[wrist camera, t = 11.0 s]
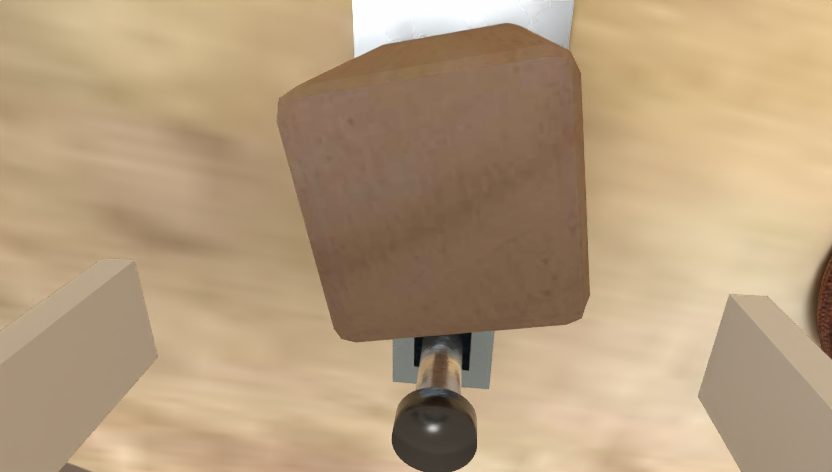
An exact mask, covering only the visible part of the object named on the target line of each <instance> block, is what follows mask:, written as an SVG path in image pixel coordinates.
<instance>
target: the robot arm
mask: <svg viewBox="0 0 832 472" xmlns="http://www.w3.org/2000/svg"><path fill="white" fill-rule="evenodd" d="M157 358H158V355H157V351H156V347H155V343H154V339H153V334H152V330H151V326H150V322H149V318H148V314H147V309H146V305H145V301H144V297H143V293H142V289H141V285H140V280H139V276H138V272H137V268H136V264H135V260H126V259H109V258H103V259H101V260H100V261H98V262H97V263H95V264H94V265H93V266H91V267H90V268H88V269H87V270H86V271H84V272H83V273H81V274H80V275H79V276H77V277H76V278H74V279H73V280H71V281H70V282H69V283H67V284H66V285H64V286H63V287H62V288H60V289H59V290H57V291H56V292H54V293H53V294H52V295H50V296H49V297H47V298H46V299H45V300H43V301H42V302H40V303H39V304H37V305H36V306H35V307H33V308H32V309H30V310H29V311H28V312H26V313H25V314H23V315H22V316H20V317H19V318H18V319H16V320H15V321H13V322H12V323H11V324H9V325H8V326H6V327H5V328H3V329H2V330H1V331H0V472H58V471H59V470H60V469H61V468H62V467H63V466H64V464H65V463H66V462H67V461H68V460H69V459H70V458H71V456H72V455H73V454H74V453H75V452H76V451H77V450H78V448H79V447H80V446H81V445H82V444H83V443H84V442H85V440H86V439H87V438H88V437H89V436H90V435H91V433H92V432H93V431H94V430H95V429H96V428H97V427H98V425H99V424H100V423H101V422H102V421H103V420H104V419H105V417H106V416H107V415H108V414H109V413H110V412H111V410H112V409H113V408H114V407H115V406H116V405H117V404H118V402H119V401H120V400H121V399H122V398H123V397H124V396H125V394H126V393H127V392H128V391H129V390H130V389H131V387H132V386H133V385H134V384H135V383H136V382H137V381H138V379H139V378H140V377H141V376H142V375H143V374H144V373H145V371H146V370H147V369H148V368H149V367H150V366H151V364H152V363H153V362H154V361H155V360H156V359H157ZM698 398H699V399H700V401H701V403H702V404H703V406H704V408H705V410H706V411H707V413H708V415H709V417H710V418H711V420H712V422H713V424H714V425H715V427H716V429H717V430H718V432H719V434H720V436H721V437H722V439H723V441H724V443H725V444H726V446H727V448H728V449H729V451H730V453H731V455H732V456H733V458H734V460H735V462H736V463H737V465H738V467H739V468H740V470H741V472H832V360H831V359H830V358H829V357H828V356H827V355H826V354H825V353H824V352H823V351H822V350H821V349H820V348H819V347H818V346H817V345H816V344H815V343H814V342H813V341H812V340H811V339H810V338H809V337H808V336H807V335H806V334H805V333H804V332H803V331H802V330H801V329H800V328H799V327H798V326H797V325H796V324H795V323H794V322H793V321H792V320H791V319H790V318H789V317H788V316H787V315H786V314H785V313H784V312H783V311H782V310H781V309H780V308H779V307H778V306H777V305H776V304H775V303H774V302H773V301H772V300H771V299H770V298H769V297H768V296H754V295H737V294H729V297H728V300H727V303H726V307H725V310H724V313H723V316H722V320H721V323H720V326H719V329H718V332H717V336H716V339H715V342H714V345H713V349H712V352H711V355H710V358H709V361H708V365H707V368H706V371H705V374H704V378H703V381H702V384H701V387H700V390H699V394H698Z"/></svg>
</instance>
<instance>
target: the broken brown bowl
mask: <svg viewBox="0 0 832 472" xmlns="http://www.w3.org/2000/svg"><path fill="white" fill-rule="evenodd" d="M817 327H818V331H819V335H820V342H821V346H822V350H823V352H824V353H825V354H826V355H827V356H828V357H829V358H830V359H831V360H832V255H831V258H830V260H829V262H828V264H827V267H826V270H825V273H824V275H823V278H822V281H821V288H820V291H819V296H818V305H817Z"/></svg>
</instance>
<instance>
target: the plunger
mask: <svg viewBox="0 0 832 472" xmlns="http://www.w3.org/2000/svg"><path fill="white" fill-rule="evenodd" d="M462 342H463V333H460V334H448V335H436V336H424V337H423V343H422V350H421V357H420V364H419V371H418V378H417V385H416V391H413V392H411V393H410V394H408V395H407V396H405V397H404V398H403V399H402V401H401V402H400V403H399V405H398V408H397V411H396V416H395V422H394V427H393V433H392V444H393V448H394V450H395V452H396V454H397V455H398V456H399V457H400V459H401V460H402V461H404V462H405V463H406V464H408V465H409V466H411V467H413V468H415V469H417V470H420V471H423V472H453V471H456V470H458V469H460V468H462V467H464V466H465V465H467V464H468V463H469V462H470V461H471V460H472V458H473V457H474V455H475V452H476V449H477V418H476V413H475V410H474V408H473V407H472V405H471V404H470V403H469V402H468V400H467V399H465V398H464V397H463V396H461V378H462Z"/></svg>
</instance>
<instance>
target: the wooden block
mask: <svg viewBox="0 0 832 472" xmlns="http://www.w3.org/2000/svg"><path fill="white" fill-rule="evenodd" d="M277 124H278V127H279V131H280V134H281V138H282V142H283V145H284V149H285V153H286V156H287V160H288V163H289V167H290V171H291V174H292V178H293V182H294V185H295V189H296V192H297V196H298V200H299V203H300V207H301V211H302V214H303V218H304V221H305V225H306V229H307V232H308V236H309V240H310V243H311V247H312V250H313V254H314V258H315V261H316V265H317V269H318V272H319V276H320V279H321V283H322V287H323V290H324V294H325V298H326V301H327V305H328V308H329V312H330V316H331V319H332V323H333V326H334V329H335V331H336V332H337V333H338V335H339V336H340V337H341V339H344V340H348V341H353V342H365V341H377V340H389V339H401V338H413V337H424V336H436V335H448V334H460V333H472V332H484V331H496V330H508V329H520V328H532V327H544V326H555V325H566V324H569V323H571V322H574V321H576V320H579V319H581V318H582V316H583V313H584V309H585V306H586V304H587V301H588V299H589V296H590V287H589V263H588V238H587V214H586V190H585V165H584V141H583V117H582V92H581V72H580V70H579V68H578V66H577V64H576V62H575V60H574V58H573V56H572V54H571V52H570V50H568V49H566V48H564V47H562V46H560V45H558V44H556V43H554V42H552V41H550V40H548V39H546V38H544V37H542V36H540V35H538V34H536V33H534V32H532V31H530V30H528V29H526V28H524V27H522V26H519V25H515V24H512V23H503V24H497V25H492V26H486V27H480V28H475V29H469V30H463V31H458V32H452V33H446V34H441V35H435V36H429V37H424V38H418V39H412V40H407V41H401V42H395V43H390V44H384V45H381V46H379V47H377V48H375V49H373V50H371V51H369V52H367V53H365V54H363V55H361V56H358V57H356V58H354V59H352V60H350V61H348V62H346V63H344V64H342V65H340V66H338V67H336V68H334V69H332V70H329V71H327V72H325V73H323V74H321V75H319V76H317V77H315V78H313V79H311V80H309V81H307V82H305V83H303V84H301V85H298V86H297V87H295V88H294V89H292V90H291V91H289V92H288V93H286V94H285V95H284V96H282V97H281V98H279V102H278V114H277Z"/></svg>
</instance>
